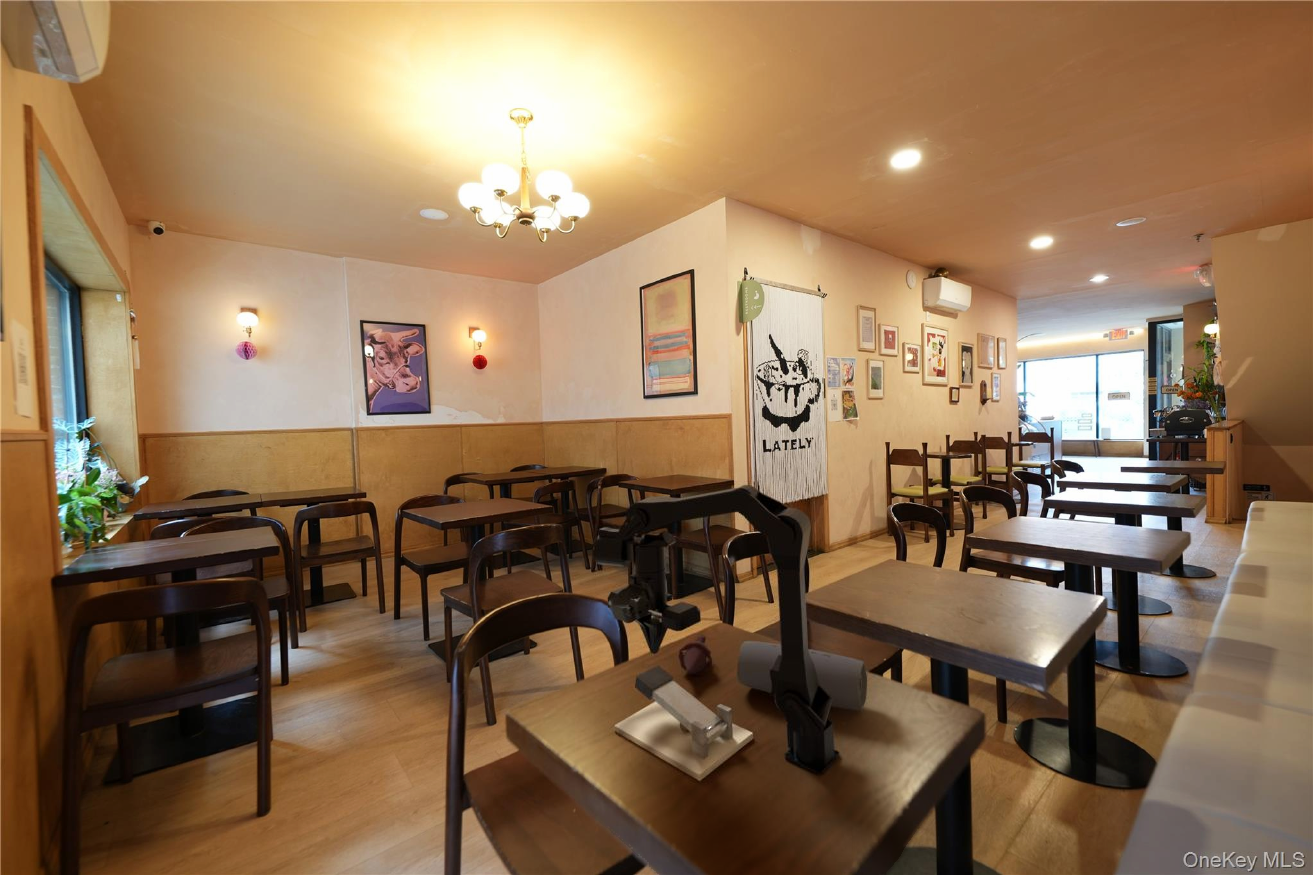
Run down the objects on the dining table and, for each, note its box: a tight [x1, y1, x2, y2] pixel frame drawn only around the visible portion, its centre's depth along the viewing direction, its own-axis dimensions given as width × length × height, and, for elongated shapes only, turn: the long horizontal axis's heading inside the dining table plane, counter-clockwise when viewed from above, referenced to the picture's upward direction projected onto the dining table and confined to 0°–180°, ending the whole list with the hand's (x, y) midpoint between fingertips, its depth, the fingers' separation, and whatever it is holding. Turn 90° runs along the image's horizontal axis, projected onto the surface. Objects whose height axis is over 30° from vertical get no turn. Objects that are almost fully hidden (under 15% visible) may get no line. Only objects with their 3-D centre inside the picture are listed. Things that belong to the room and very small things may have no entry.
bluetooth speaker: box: [736, 640, 868, 711], centre depth 104 cm, size 23×9×10 cm, turn 60°
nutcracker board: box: [613, 700, 754, 782], centre depth 95 cm, size 20×14×6 cm
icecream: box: [678, 634, 713, 676], centre depth 117 cm, size 7×7×15 cm
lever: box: [634, 665, 727, 745], centre depth 95 cm, size 17×6×2 cm, turn 45°
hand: (654, 652), depth 99 cm, fingers closed
